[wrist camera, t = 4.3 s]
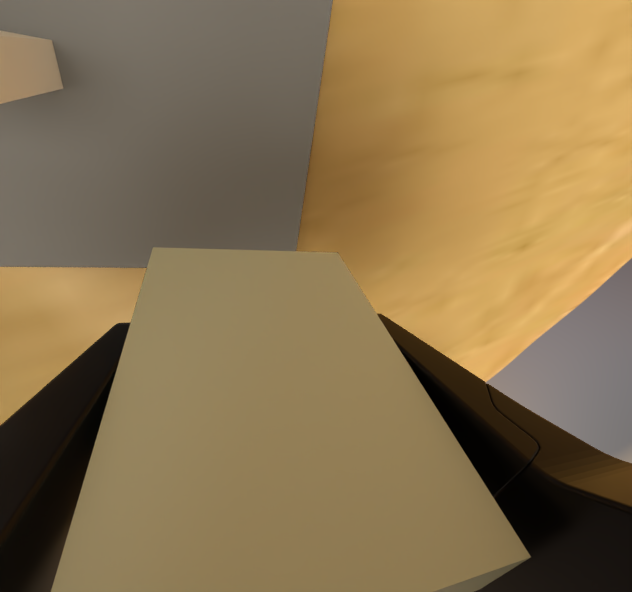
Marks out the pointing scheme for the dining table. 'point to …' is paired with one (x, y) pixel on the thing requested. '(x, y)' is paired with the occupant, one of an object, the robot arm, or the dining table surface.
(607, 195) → the dining table surface
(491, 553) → the domino
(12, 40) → the domino
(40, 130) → the mat
